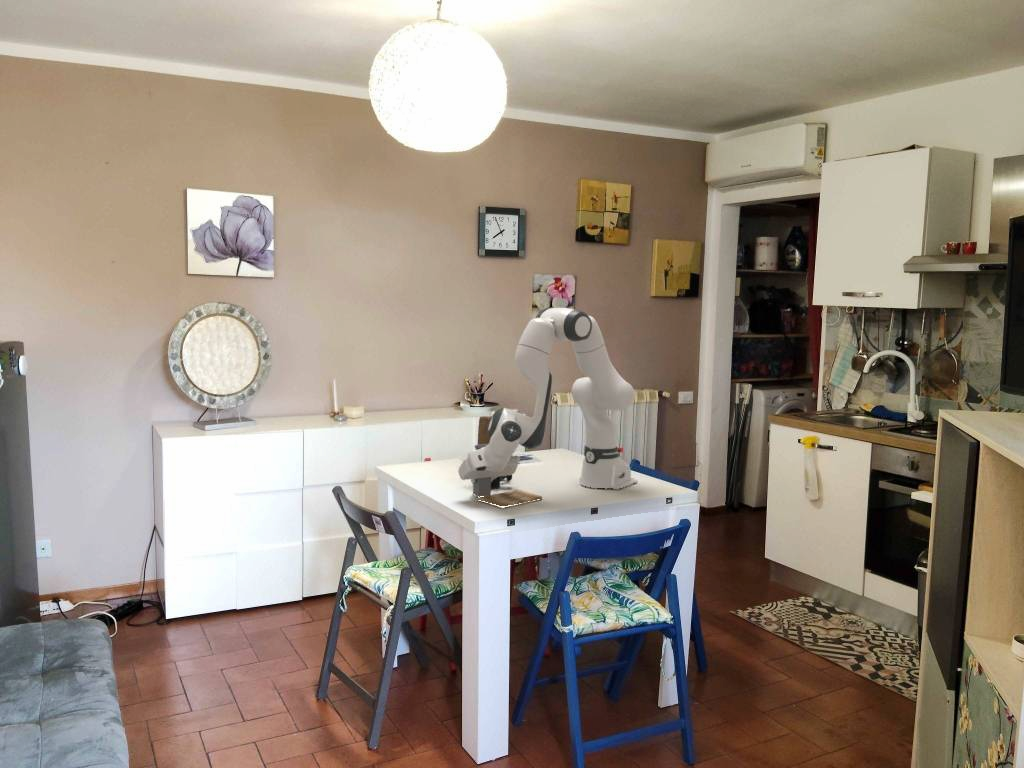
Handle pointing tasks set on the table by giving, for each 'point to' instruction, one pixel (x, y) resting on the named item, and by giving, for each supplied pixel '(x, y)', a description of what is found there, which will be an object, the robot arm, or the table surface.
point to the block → (483, 430)
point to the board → (510, 498)
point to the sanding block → (482, 487)
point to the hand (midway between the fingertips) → (481, 481)
